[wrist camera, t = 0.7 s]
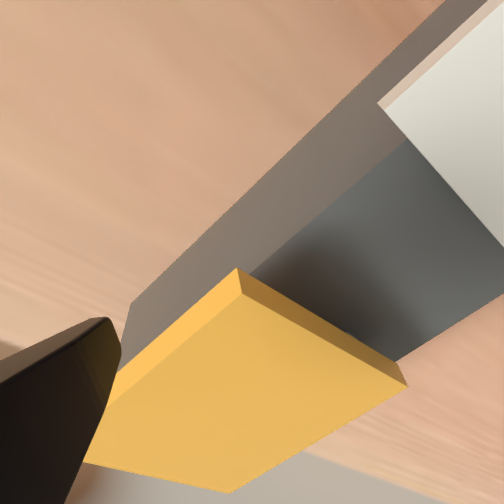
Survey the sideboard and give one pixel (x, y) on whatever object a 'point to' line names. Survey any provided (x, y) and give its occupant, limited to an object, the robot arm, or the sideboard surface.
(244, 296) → the yellow flat slab
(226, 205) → the sideboard surface
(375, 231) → the dark grey block
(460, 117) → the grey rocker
